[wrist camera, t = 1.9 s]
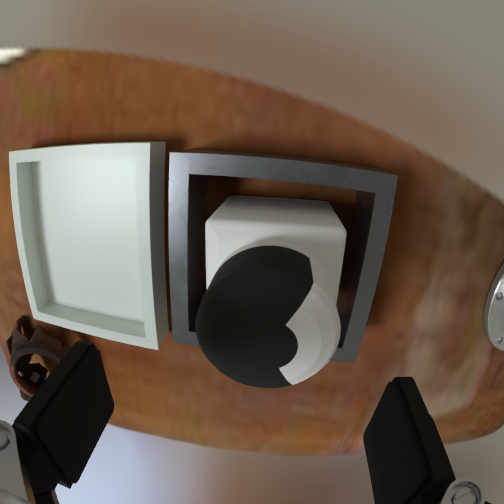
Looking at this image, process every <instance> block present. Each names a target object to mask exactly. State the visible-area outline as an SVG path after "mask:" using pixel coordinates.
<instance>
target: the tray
mask: <svg viewBox="0 0 504 504" xmlns="http://www.w3.org/2000/svg"><path fill="white" fill-rule="evenodd" d="M165 147H166V142H107V143H87V144H72V145H59V146H48V147H38V148H29V149H23V150H17V151H12V152H9V164H10V184H11V198H12V208H13V217H14V225H15V233H16V239H17V246H18V252H19V257H20V263H21V268H22V273H23V277H24V282H25V287H26V291H27V295H28V299H29V303H30V307H31V311H32V314H33V318H34V319H37V320H41V321H44V322H47V323H50V324H54V325H57V326H61V327H64V328H68V329H71V330H75V331H78V332H82V333H86V334H90V335H94V336H97V337H101V338H105V339H110V340H114V341H118V342H122V343H127V344H131V345H136V346H140V347H145V348H150V349H155V350H159V348H160V346H161V345H162V343H163V341H164V339H165V337H166V336H167V334H168V332H169V327H168V312H167V295H166V274H165V239H164V181H165Z"/></svg>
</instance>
